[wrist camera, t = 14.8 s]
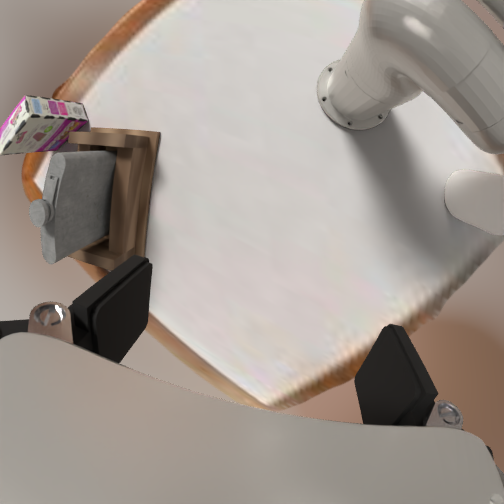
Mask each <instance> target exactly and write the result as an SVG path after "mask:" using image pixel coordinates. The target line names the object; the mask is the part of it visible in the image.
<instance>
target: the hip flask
mask: <svg viewBox="0 0 504 504" xmlns="http://www.w3.org/2000/svg"><path fill="white" fill-rule="evenodd" d="M116 157H117V151H79V152H60V153H56V154H54V155H53V157H52V158H51V161H50V164H49V168H48V171H47V175H46V180H45V185H44V190H43V197H42V199H38V200H34V201H33V202H32V203H31V205H30V208H29V215H30V219H31V221H32V223H33V224H34V225H35V226H36V227H41V245H42V253H43V257H44V259H45V260H46V262H48V263H49V264H54V263H56V262H57V261H59V260H61V259H63V258H65V257H67V256H68V255H70V254H72V253H74V252H76V251H78V250H79V249H81V248H83V247H85V246H87V245H89V244H91V243H93V242H95V241H97V240H99V239H101V238H103V237H105V236H107V235H109V231H110V214H111V201H112V190H113V181H114V172H115V164H116Z"/></svg>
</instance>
